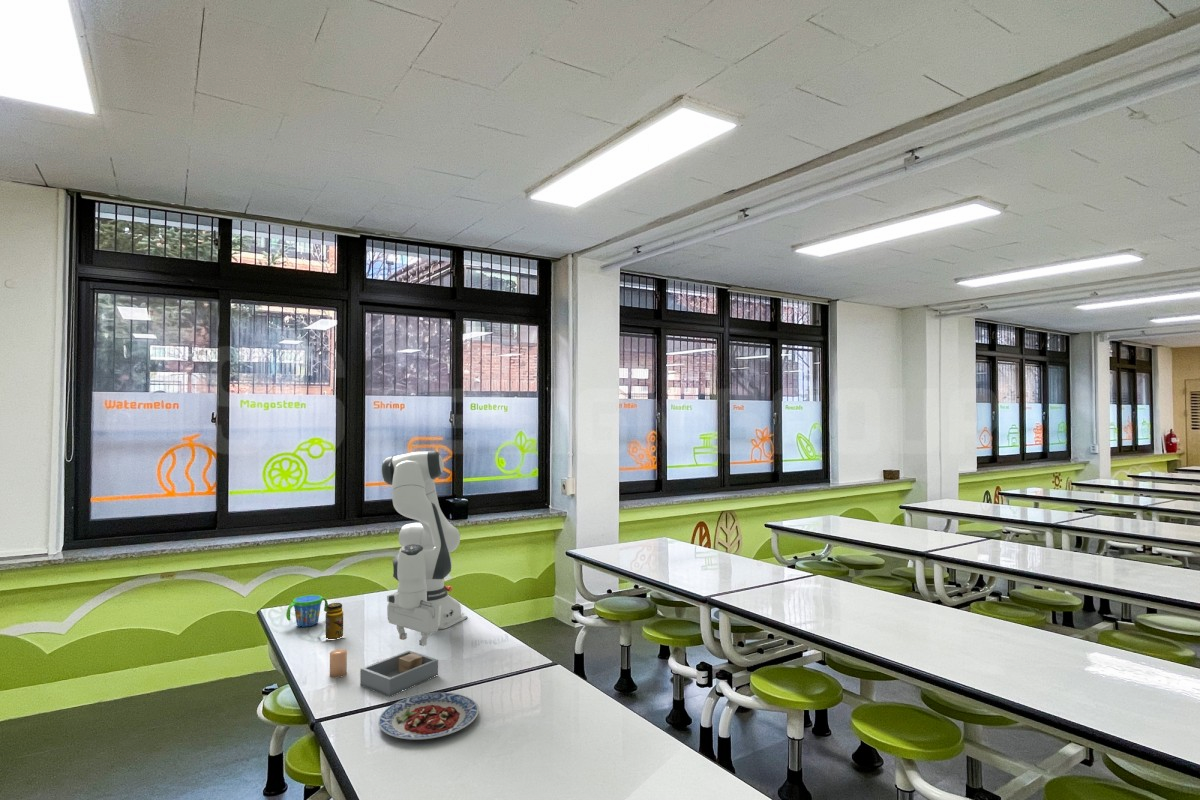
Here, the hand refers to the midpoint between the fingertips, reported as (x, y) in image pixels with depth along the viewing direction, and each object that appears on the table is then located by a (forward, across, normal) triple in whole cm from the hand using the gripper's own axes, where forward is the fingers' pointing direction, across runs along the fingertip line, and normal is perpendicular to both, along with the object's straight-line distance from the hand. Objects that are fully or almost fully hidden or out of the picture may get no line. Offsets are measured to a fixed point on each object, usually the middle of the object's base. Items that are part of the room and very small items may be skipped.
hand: (412, 642), depth 201 cm
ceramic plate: (+10, -28, +18) cm, 34 cm away
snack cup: (+11, +73, -9) cm, 74 cm away
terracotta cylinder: (+10, +20, +13) cm, 26 cm away
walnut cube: (+10, 0, +1) cm, 10 cm away
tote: (+10, 0, +5) cm, 11 cm away
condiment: (+11, +52, -6) cm, 53 cm away
